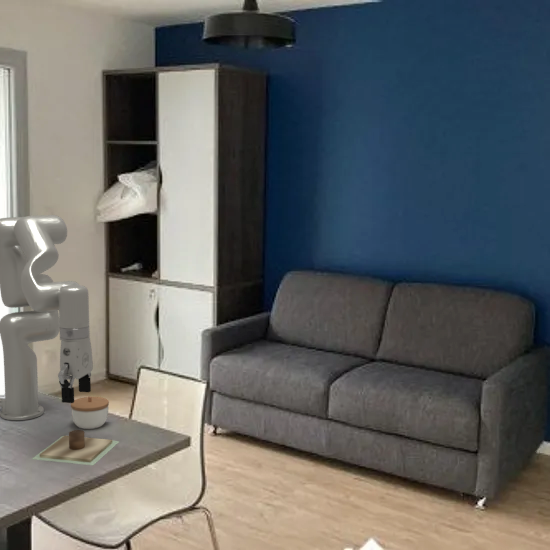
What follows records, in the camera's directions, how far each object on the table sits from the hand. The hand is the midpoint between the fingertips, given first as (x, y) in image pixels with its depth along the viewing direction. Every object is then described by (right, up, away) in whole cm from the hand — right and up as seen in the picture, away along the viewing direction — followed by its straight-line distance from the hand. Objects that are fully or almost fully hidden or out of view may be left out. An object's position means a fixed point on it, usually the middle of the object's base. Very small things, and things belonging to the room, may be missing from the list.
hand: (76, 397), depth 198 cm
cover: (-1, -14, +3) cm, 15 cm away
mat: (-1, -15, +3) cm, 16 cm away
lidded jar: (-2, -13, +22) cm, 26 cm away
